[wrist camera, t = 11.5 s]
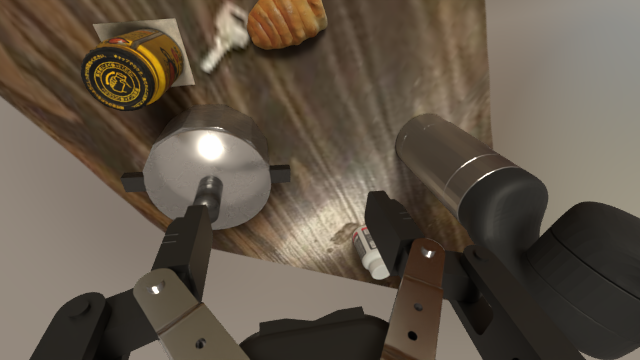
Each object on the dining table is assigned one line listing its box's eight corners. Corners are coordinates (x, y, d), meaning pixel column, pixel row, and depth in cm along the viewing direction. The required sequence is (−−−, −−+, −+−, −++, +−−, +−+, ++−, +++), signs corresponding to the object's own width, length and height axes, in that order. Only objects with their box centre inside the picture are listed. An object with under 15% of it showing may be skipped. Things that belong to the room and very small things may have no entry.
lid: (267, 122, 33) (270, 150, 26) (272, 215, 40) (275, 253, 34) (132, 125, 30) (101, 157, 24) (166, 224, 38) (149, 268, 31)
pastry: (265, 62, 36) (266, 68, 32) (233, 7, 32) (231, 8, 29) (329, 24, 35) (336, 26, 31) (304, -37, 31) (309, -42, 28)
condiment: (195, 84, 35) (173, 116, 25) (124, 91, 34) (72, 128, 24) (175, 18, 31) (139, 26, 21) (94, 24, 30) (16, 35, 20)
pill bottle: (361, 246, 59) (378, 285, 51) (346, 235, 56) (362, 275, 48) (381, 231, 57) (402, 269, 49) (366, 219, 55) (386, 257, 47)
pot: (284, 104, 39) (290, 125, 32) (285, 188, 46) (290, 219, 40) (127, 105, 35) (98, 129, 28) (157, 196, 43) (140, 232, 36)
